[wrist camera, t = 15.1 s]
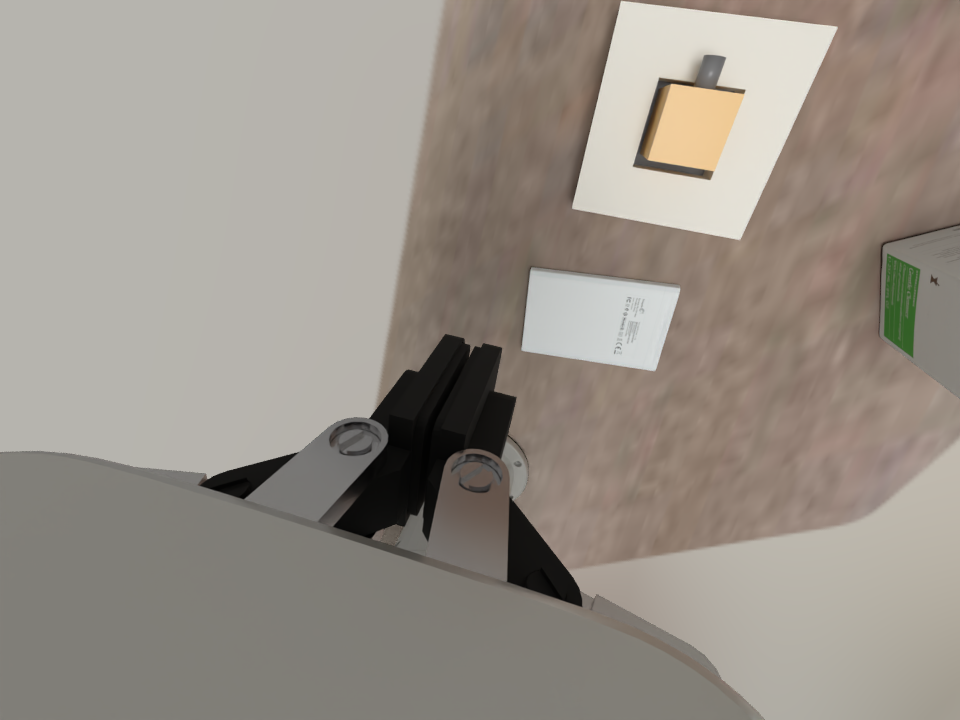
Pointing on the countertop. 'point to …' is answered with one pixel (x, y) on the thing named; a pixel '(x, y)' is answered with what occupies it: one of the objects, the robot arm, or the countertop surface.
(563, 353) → the external hard drive
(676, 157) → the plug
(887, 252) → the skincare box
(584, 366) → the countertop surface
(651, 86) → the socket
